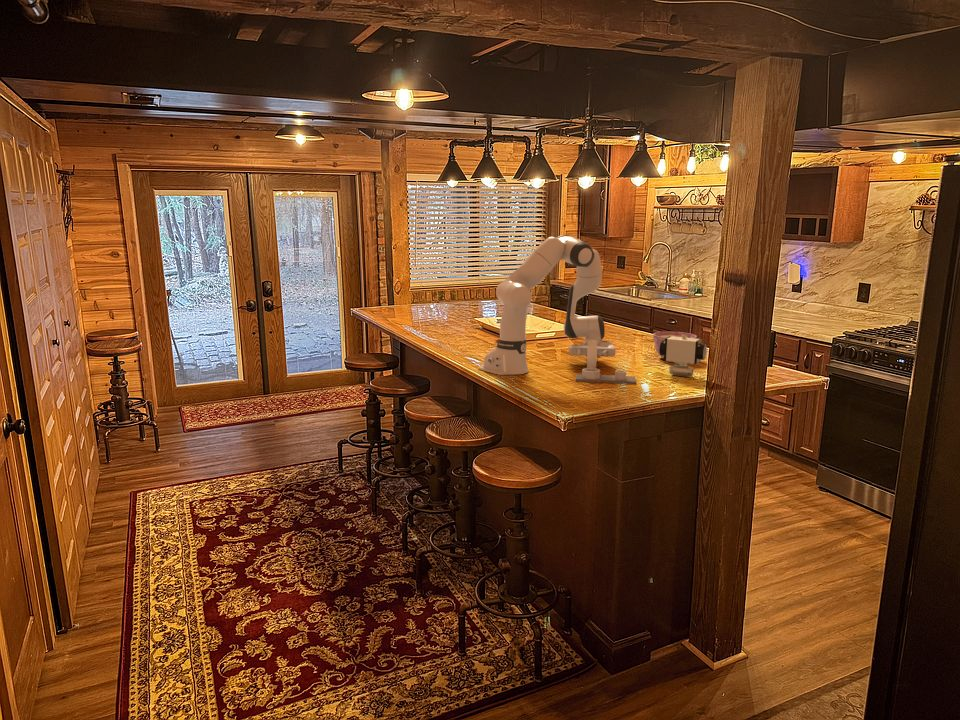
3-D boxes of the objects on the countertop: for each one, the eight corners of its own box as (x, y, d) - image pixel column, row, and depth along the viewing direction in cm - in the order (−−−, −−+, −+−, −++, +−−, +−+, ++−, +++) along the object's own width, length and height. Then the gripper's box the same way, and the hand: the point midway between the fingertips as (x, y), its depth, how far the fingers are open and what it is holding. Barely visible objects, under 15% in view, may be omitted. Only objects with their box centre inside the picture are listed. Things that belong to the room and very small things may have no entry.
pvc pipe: (584, 373, 286) (586, 341, 283) (589, 371, 289) (590, 339, 286) (593, 374, 283) (594, 342, 280) (597, 372, 286) (599, 340, 284)
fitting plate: (575, 381, 271) (576, 371, 270) (576, 376, 280) (577, 367, 279) (635, 384, 267) (636, 374, 266) (634, 378, 276) (635, 369, 275)
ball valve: (705, 376, 281) (708, 335, 277) (700, 380, 274) (704, 338, 270) (663, 371, 290) (665, 331, 286) (657, 375, 283) (660, 334, 279)
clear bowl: (643, 358, 316) (644, 334, 313) (664, 353, 329) (666, 330, 327) (682, 365, 302) (683, 340, 299) (702, 358, 316) (704, 335, 313)
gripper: (569, 340, 301) (567, 345, 288) (615, 342, 298) (615, 347, 284) (569, 353, 303) (567, 359, 289) (614, 355, 299) (615, 362, 286)
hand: (591, 353), depth 287 cm, fingers open, 8 cm apart
